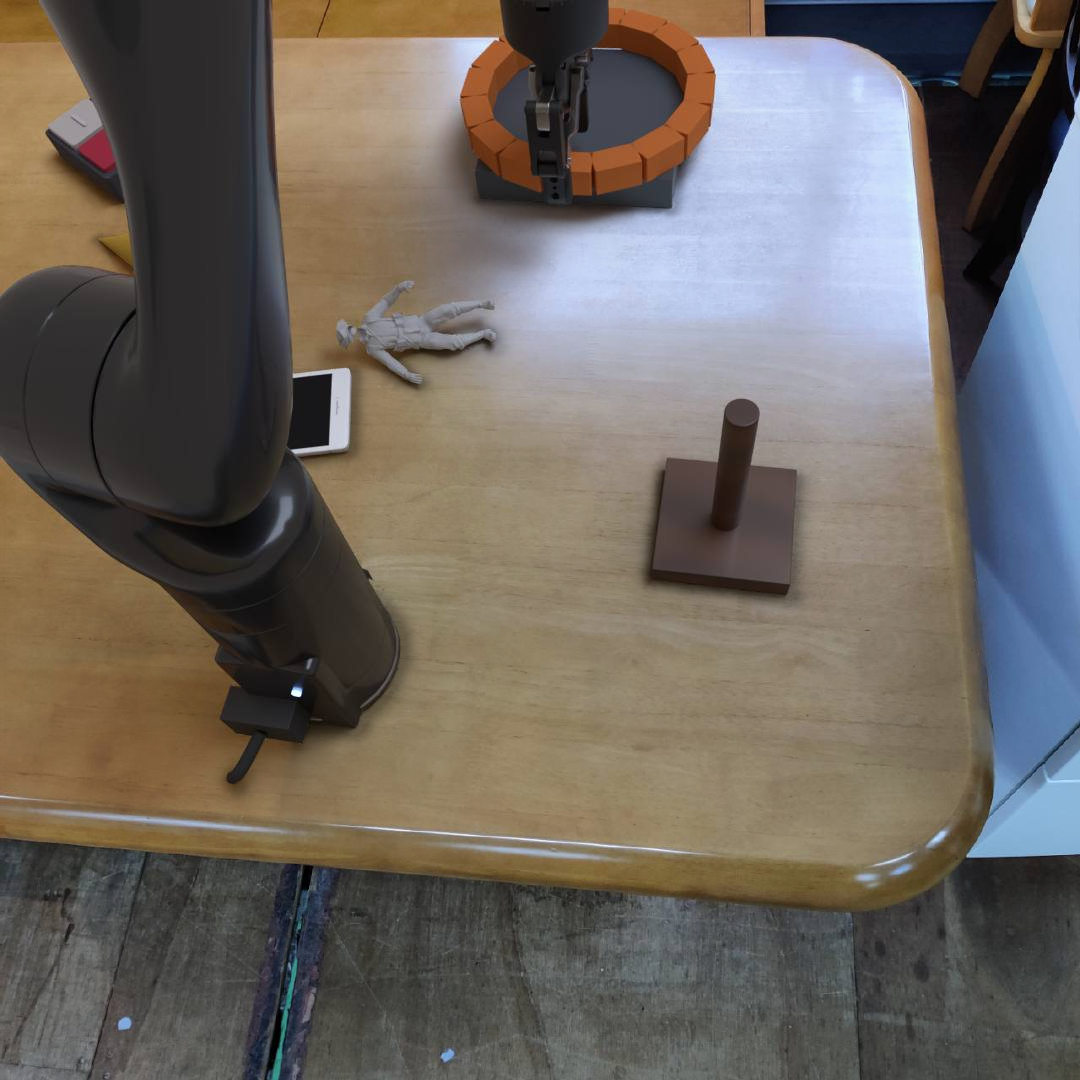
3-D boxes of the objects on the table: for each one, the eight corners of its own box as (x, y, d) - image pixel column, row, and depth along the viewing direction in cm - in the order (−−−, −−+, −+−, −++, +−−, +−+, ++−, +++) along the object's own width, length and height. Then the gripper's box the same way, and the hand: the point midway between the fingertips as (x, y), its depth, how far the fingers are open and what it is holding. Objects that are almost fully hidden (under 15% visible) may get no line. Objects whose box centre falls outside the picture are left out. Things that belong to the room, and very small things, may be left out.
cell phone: (155, 395, 76) (152, 390, 76) (352, 371, 76) (350, 366, 75) (143, 476, 73) (139, 471, 72) (349, 452, 72) (347, 447, 71)
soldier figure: (500, 378, 75) (348, 389, 71) (482, 375, 80) (338, 385, 76) (495, 277, 74) (338, 282, 70) (477, 279, 78) (329, 284, 74)
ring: (700, 201, 77) (702, 177, 75) (442, 189, 81) (437, 165, 79) (722, 34, 87) (724, 9, 85) (492, 30, 91) (488, 6, 89)
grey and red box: (37, 125, 89) (161, 36, 93) (63, 161, 93) (181, 74, 97) (101, 173, 85) (228, 77, 89) (126, 209, 89) (247, 116, 93)
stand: (671, 208, 81) (672, 179, 79) (479, 198, 84) (474, 170, 82) (691, 80, 89) (692, 50, 87) (515, 75, 92) (511, 46, 90)
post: (787, 594, 63) (820, 486, 51) (651, 579, 65) (653, 470, 53) (794, 480, 67) (826, 356, 55) (666, 468, 69) (671, 345, 57)
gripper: (516, -95, 68) (537, 106, 82) (475, 29, 61) (506, 224, 75) (621, -95, 66) (624, 109, 81) (590, 31, 60) (600, 229, 74)
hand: (567, 164), depth 78 cm, fingers open, 8 cm apart
